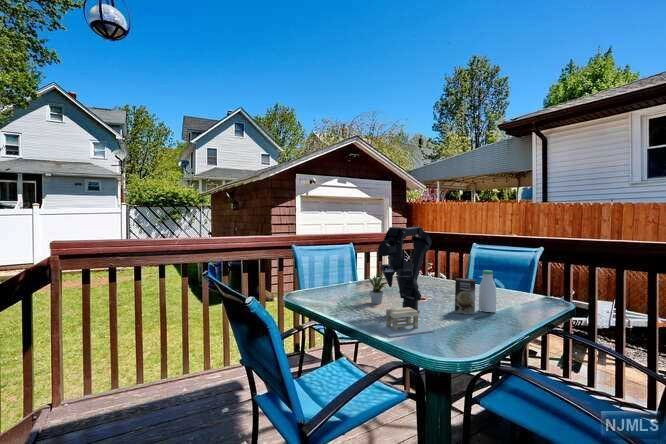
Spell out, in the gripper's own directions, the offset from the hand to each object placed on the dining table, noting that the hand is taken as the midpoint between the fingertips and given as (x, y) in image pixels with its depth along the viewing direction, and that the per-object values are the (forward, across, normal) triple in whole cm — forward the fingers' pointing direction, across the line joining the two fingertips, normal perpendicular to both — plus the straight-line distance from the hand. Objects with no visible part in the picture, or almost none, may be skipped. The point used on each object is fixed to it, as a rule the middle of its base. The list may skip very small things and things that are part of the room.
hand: (395, 288), depth 155 cm
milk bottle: (+13, -6, -48) cm, 50 cm away
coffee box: (+13, -4, -36) cm, 39 cm away
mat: (+13, -15, +6) cm, 21 cm away
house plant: (+13, +26, -3) cm, 29 cm away
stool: (+12, -15, +6) cm, 20 cm away
